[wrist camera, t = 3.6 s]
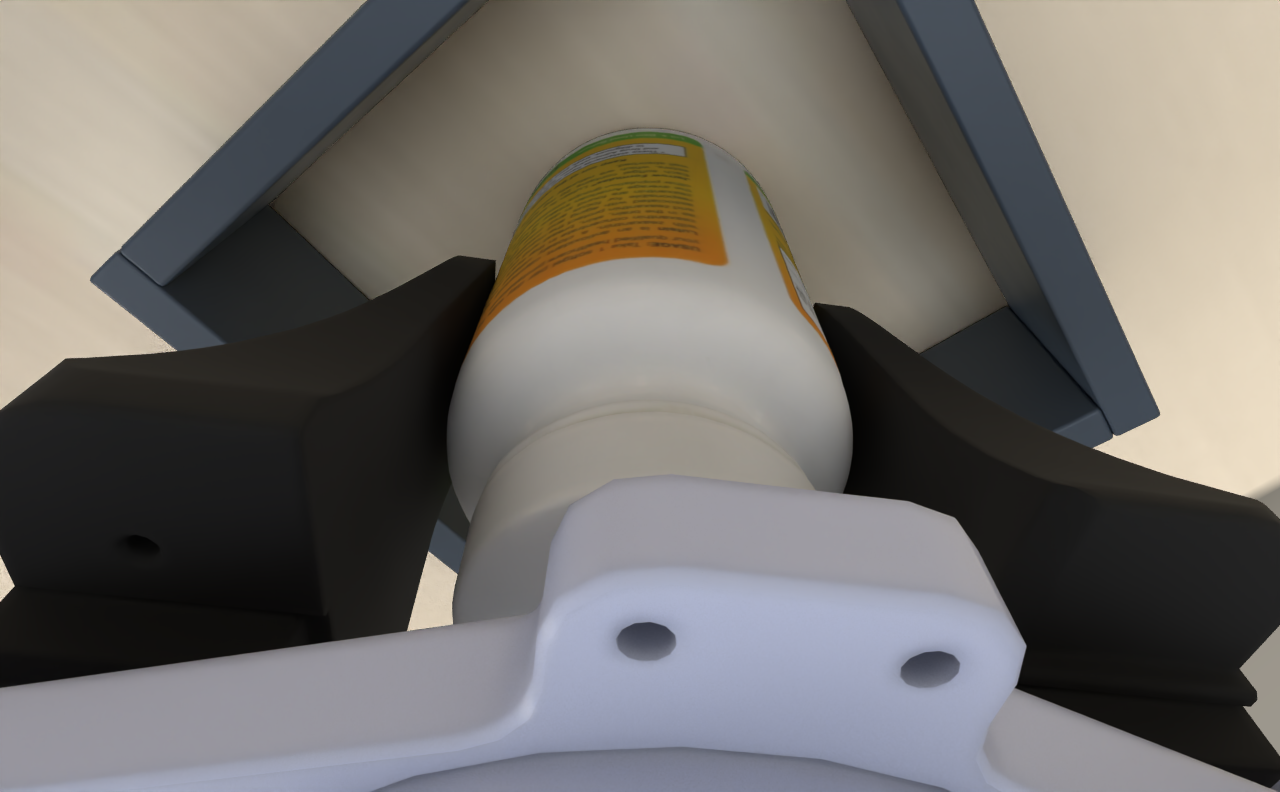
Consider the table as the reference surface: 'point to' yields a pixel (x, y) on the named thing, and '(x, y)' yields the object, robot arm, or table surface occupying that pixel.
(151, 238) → the tray
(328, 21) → the table surface
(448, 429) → the supplement bottle
